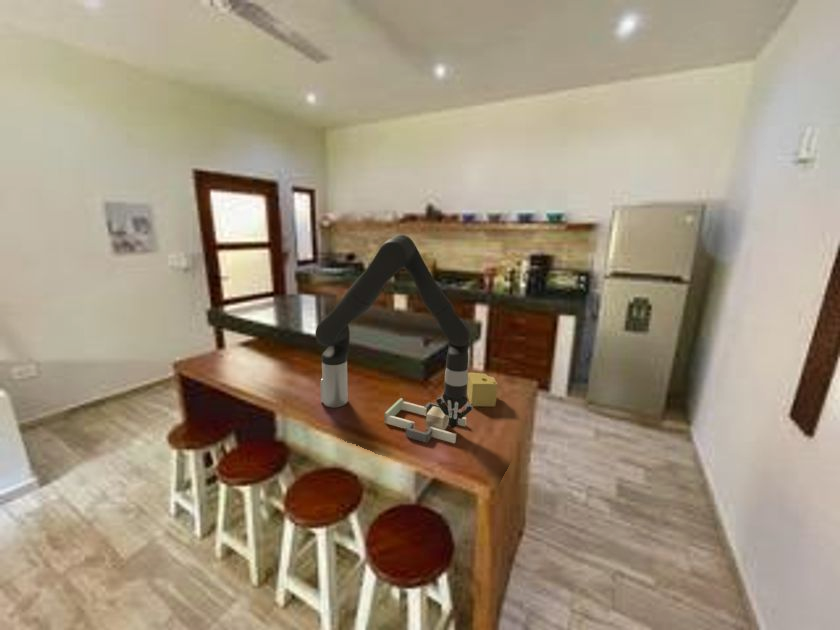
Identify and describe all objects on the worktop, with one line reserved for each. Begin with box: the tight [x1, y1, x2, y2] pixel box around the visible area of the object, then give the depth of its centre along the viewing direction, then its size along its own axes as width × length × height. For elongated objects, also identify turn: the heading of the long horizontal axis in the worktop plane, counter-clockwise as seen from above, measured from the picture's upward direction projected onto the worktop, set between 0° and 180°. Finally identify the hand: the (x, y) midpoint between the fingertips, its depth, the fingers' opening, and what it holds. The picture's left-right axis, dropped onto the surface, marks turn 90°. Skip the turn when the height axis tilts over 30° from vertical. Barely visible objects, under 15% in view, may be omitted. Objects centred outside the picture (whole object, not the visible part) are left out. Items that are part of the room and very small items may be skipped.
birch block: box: [425, 406, 449, 431], centre depth 127 cm, size 6×6×6 cm
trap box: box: [384, 397, 467, 444], centre depth 129 cm, size 26×20×4 cm
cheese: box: [467, 372, 499, 408], centre depth 146 cm, size 10×11×10 cm
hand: (453, 426), depth 125 cm, fingers closed
